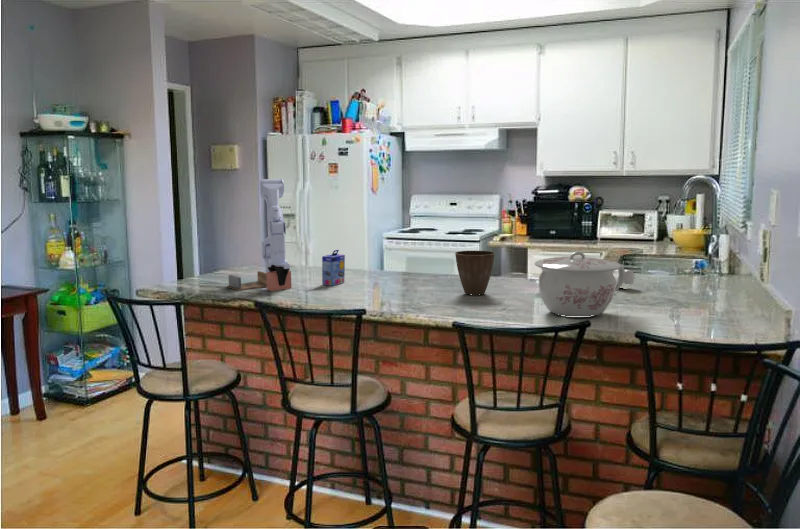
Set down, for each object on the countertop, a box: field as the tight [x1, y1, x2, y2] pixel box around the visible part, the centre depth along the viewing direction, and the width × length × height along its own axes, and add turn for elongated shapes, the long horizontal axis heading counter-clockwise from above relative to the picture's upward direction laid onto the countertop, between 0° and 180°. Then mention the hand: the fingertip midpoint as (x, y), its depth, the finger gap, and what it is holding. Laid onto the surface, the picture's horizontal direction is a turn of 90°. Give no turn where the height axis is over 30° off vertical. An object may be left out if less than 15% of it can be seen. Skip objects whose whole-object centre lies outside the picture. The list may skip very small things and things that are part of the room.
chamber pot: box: [534, 251, 626, 316], centre depth 211 cm, size 28×28×21 cm
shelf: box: [227, 270, 267, 291], centre depth 266 cm, size 15×10×5 cm, turn 129°
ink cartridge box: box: [321, 249, 346, 287], centre depth 270 cm, size 10×6×14 cm, turn 152°
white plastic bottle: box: [612, 268, 636, 286], centre depth 261 cm, size 8×19×8 cm, turn 32°
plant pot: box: [454, 250, 496, 296], centre depth 247 cm, size 15×15×16 cm
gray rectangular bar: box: [228, 274, 242, 289], centre depth 261 cm, size 1×9×4 cm, turn 39°
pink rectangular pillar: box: [265, 270, 292, 292], centre depth 261 cm, size 9×4×7 cm, turn 129°
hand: (279, 284), depth 261 cm, fingers closed on pink rectangular pillar, 4 cm apart
